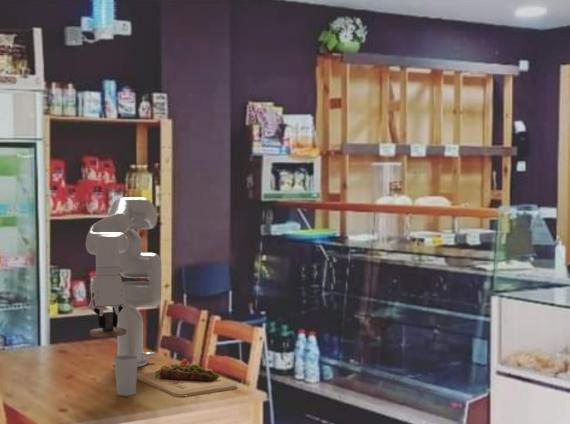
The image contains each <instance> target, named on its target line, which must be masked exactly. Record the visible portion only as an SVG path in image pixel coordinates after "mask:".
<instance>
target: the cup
mask: <svg viewBox="0 0 570 424" xmlns="http://www.w3.org/2000/svg"><path fill="white" fill-rule="evenodd" d="M114 364H115V366H114V372H115V375H114V376H115V384H116V395H119V396H132V395H136V393H137V381H138V379H137V374H138V368H139V367H138V356H135V355H120V356H118V355H116V356H115V357H113V365H114Z"/></svg>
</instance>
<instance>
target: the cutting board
mask: <svg viewBox="0 0 570 424" xmlns="http://www.w3.org/2000/svg"><path fill="white" fill-rule="evenodd" d="M137 380H139V381H141V382H143V383H146V384H148V385H150V386H152V387H154V388H157V389H158V390H160V391H163V392H165V393H167V394H169V393H170V394H169V395H171V394H172V395H171V396H173V395H175V396H174V397H176V396H185V395H192V396H196V395H195V394H198V395H203V394H202V393H205V394H210V393H209V392H211V393H216V392H222V391H228V390H236V389H237V383H236V382H233V381H231V380H228V379H225V378H223V377H221V376H220V374H217V373H215V372H213V371H212V370H211V369H208V370H206V369H205V368H203V367H202V366H201V367H200V366H199V365H198V364H192V363H190V362H189V361H188V360H187V358H183V359H182V360H181V361H180V362H179V364H177V363H176V364H171V365H170V366H167V365H163V366H161V367H160V368H159V370H153V371H147V372H146V371H145V372H140V373H139V372H138V373H137Z"/></svg>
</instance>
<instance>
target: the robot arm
mask: <svg viewBox="0 0 570 424" xmlns="http://www.w3.org/2000/svg"><path fill="white" fill-rule="evenodd" d="M157 222H158V213H157V210H156V208H155V206H154V204H153V203H152V201H151V200H150V199H148V198H146V197H121V198H117V199H116V200H114V202H113V204H112V205H111V209H110V211H109V213H108V216H106V217H104V218H102V219H101V220H98V221H96V222H95V223H93V224H92V225H91V226H90V227H89V230H88V233H87V234H86V239H85V249H86V251H87V253H89V254H90V255H93V256H95V275H93V278H92V283H91V290H90V291H91V292H90V302H89V304H88V305H87V309H89V310H91V311H93V312H94V313H95V314H96V315H97V318H98V320H97V323H98V326H99V328H105V317H104V316H103V312H105V311H104V310H105V307H106V308H107V307H111V308H112V312H113V327H114V328H124V329H126V334H125V335H122V336H116V337H117V356H120V355H135V356H138V367H137V368H139V367H144V366H146V365H148V358H150V359H151V358H155V357H156V353H155V352H153V351H152V352H149V351H148V352H145V351H144V330H143V329H144V325H143V323H144V322H143V321H144V320H143V316H142V314H141V312H140V311H139V310H138V309H137V308H141V307H142V308H144V307H145V308H149V307H151V308H154V307H157V306H159V305H160V303H161V302H162V259H161V257H160V256H159V254H157V253H154V252H143V250H142V247H143V241H142V237H141V236H140V234H139V233H138V231H136V230H152V229H154V228H155V227H156V226H157ZM122 277H123V278H128V279H148V281H139V280H138V281H137V280H136V281H132V280H131V281H123V279H122ZM113 366H114V367H115V364H114V363H113Z"/></svg>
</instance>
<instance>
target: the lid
mask: <svg viewBox="0 0 570 424" xmlns="http://www.w3.org/2000/svg"><path fill="white" fill-rule="evenodd" d="M103 316H104V317H105V328H101V327H99V328H98V327H97V328H93V329H90V330H89V336H91V337H95V338H115V337H117V336H122V335H125V334H126V329H124V328H117V327H114V326H113V311H103Z"/></svg>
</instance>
